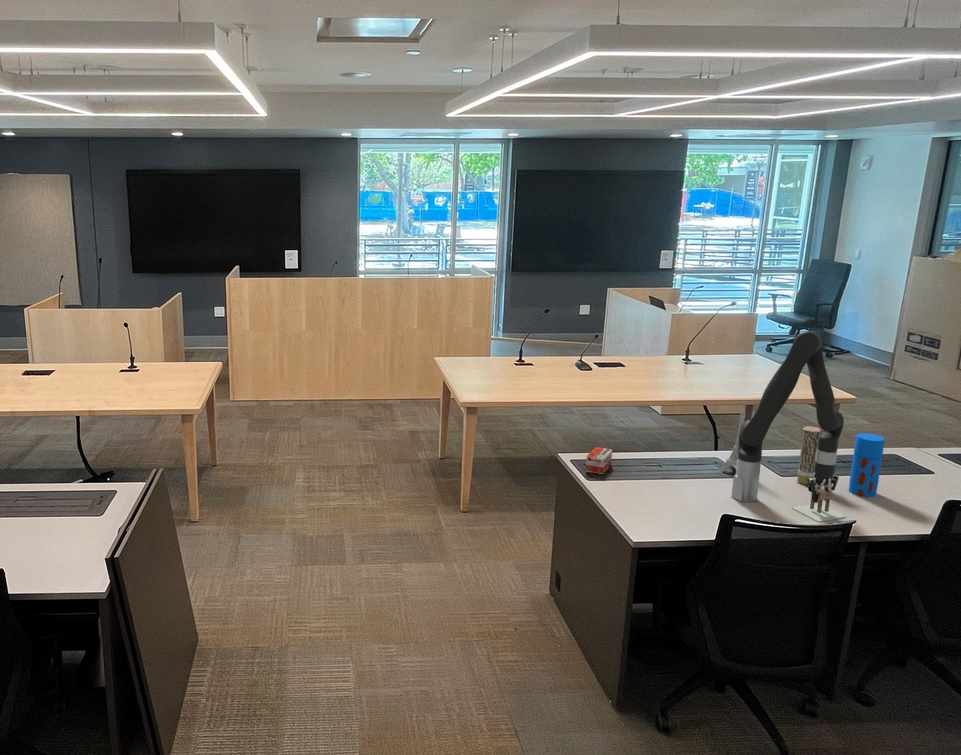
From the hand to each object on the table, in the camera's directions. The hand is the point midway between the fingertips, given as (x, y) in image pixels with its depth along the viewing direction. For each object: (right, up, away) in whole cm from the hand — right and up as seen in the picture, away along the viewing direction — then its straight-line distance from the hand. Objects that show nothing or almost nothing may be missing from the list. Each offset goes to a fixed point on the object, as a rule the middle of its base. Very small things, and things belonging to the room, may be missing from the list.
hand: (820, 501), depth 302 cm
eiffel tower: (-18, +6, +46) cm, 49 cm away
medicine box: (-81, +7, +45) cm, 93 cm away
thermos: (+29, 0, +24) cm, 37 cm away
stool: (0, -4, +1) cm, 4 cm away
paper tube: (+8, +2, +34) cm, 35 cm away
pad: (0, -5, +1) cm, 5 cm away
